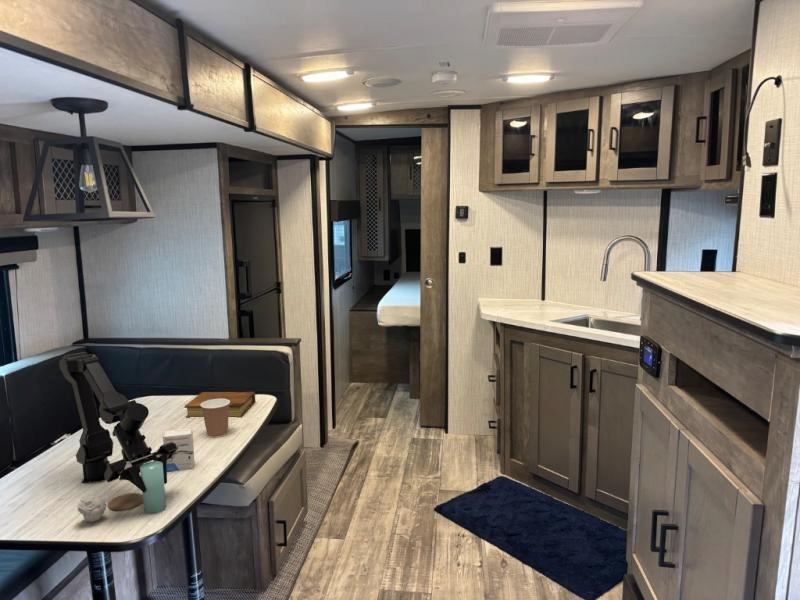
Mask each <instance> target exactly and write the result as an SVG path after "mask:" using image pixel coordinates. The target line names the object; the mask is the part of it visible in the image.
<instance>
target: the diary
mask: <svg viewBox="0 0 800 600" xmlns="http://www.w3.org/2000/svg"><path fill="white" fill-rule="evenodd" d="M212 399H227V400H229V401H230V403H229V417H237V419H238V418H241V419H242V418H243V416H244V415H246V413H248V411H249V410H250V409H251V408H252V407H253V406H254V405H255V404H256V392H255V391H205V392H204V391H202V392H200V393H199V394H198V395H196V396H195V397H194V398H193V399H191V400H190V401H189V402H187V403H186V404H185V405H184V408H185V409H187V410H186V411H187V412H186V413H187V415H186V416H185V417H186V418H185V419H191V418H190V417H204V416H203V411H202V407H201V403H203V402H205V401H208V400H212Z"/></svg>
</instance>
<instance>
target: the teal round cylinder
mask: <svg viewBox="0 0 800 600" xmlns="http://www.w3.org/2000/svg"><path fill="white" fill-rule="evenodd" d="M139 474H140V476H141V478H142V480H143V482H144V485H145V487H146V492H145V493H144V492H142V491H141V494H142V496H143V502H142V505H143V513H144V514H147V515H155V514H159V513H162V512H163V511H165V510H166V508H167V502H166V490H165V489H166V487H165V484H164V474H163V463H162V462H160V461H154V460H152V461H150V462H147V463H144V464H143V465H141V466H140V473H139Z"/></svg>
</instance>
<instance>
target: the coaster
mask: <svg viewBox="0 0 800 600" xmlns="http://www.w3.org/2000/svg"><path fill="white" fill-rule="evenodd" d="M142 504H143V496H142V493H137V492H131V493H130V492H129V493H126V494H121V495H118V496H117V497H115V498H113V499H111V500H110V501H109V502H108V505H107V508H108V509H109V511H112V512H123V511H124V512H125V511H128V510H132V509H135V508H136V507H138V506H140V505H142Z"/></svg>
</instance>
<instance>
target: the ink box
mask: <svg viewBox="0 0 800 600" xmlns="http://www.w3.org/2000/svg"><path fill="white" fill-rule="evenodd" d="M193 435H194V432H193V429H192V428H183V429H182V428H181V429H171V430H166V431H164V432H163V435H162V436H163V437H162V443H163V444H162V445H164V444H167V443H170V442H173V443H175V444H176V445H177V447H178V449H177V451H176V452H175V454H174V455H173V457H172V458H170V459H168V460H167V472H175V471H182V469H184V470H189V469H188V468H192V469H194V467H193V466H195V450H194V436H193Z"/></svg>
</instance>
